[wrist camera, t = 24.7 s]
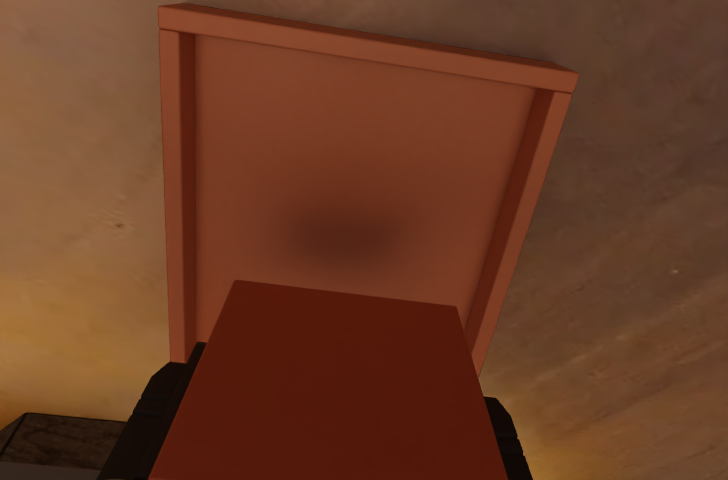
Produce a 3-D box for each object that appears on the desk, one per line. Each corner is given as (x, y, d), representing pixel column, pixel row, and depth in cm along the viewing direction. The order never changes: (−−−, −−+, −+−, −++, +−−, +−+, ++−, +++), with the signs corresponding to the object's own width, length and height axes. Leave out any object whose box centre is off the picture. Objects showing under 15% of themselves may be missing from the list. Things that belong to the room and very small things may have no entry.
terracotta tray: (183, 2, 16) (156, 4, 14) (554, 62, 17) (580, 73, 15) (188, 352, 22) (170, 389, 20) (455, 382, 23) (464, 421, 21)
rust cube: (234, 277, 11) (146, 480, 6) (457, 304, 11) (520, 514, 7) (228, 438, 13) (160, 671, 9) (414, 457, 13) (441, 690, 9)
